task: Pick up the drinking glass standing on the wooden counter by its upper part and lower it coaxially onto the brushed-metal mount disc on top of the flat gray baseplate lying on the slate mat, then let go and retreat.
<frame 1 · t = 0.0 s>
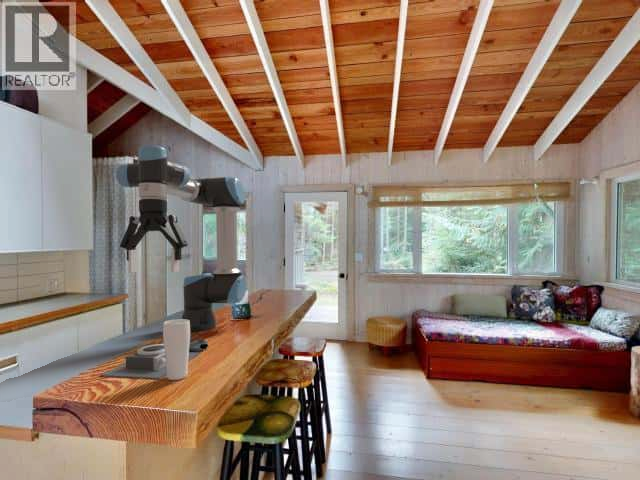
hand: (154, 272, 103), 28 cm above the countertop, fingers open, 13 cm apart
flat gray baseplate: (154, 364, 106), on the countertop
electronic device: (186, 350, 122), on the countertop
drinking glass: (177, 377, 95), on the countertop
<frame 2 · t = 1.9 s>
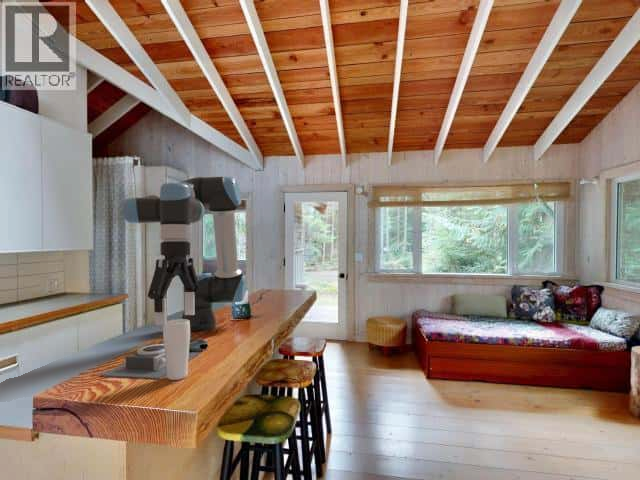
hand: (176, 319, 95), 16 cm above the countertop, fingers open, 13 cm apart
nothing on the countertop moved.
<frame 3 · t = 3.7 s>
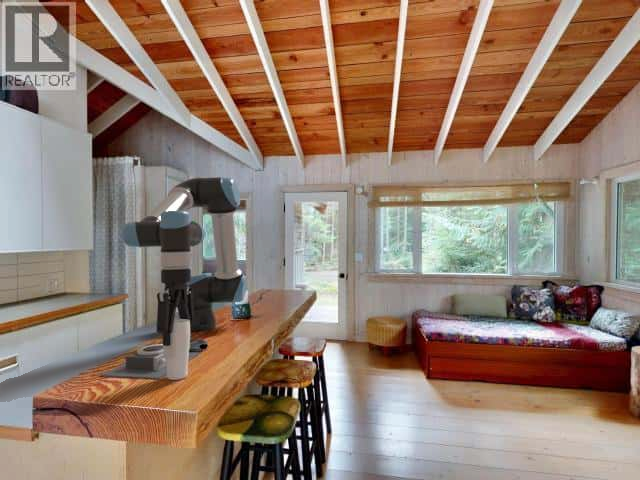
hand: (177, 352, 95), 7 cm above the countertop, fingers closed on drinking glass, 7 cm apart
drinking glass: (177, 377, 95), on the countertop, touching gripper
everything else where it was.
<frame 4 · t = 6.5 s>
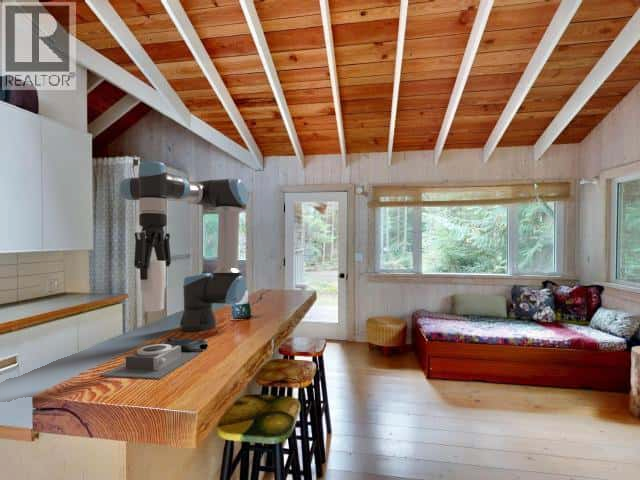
hand: (153, 289, 107), 23 cm above the countertop, fingers closed on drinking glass, 7 cm apart
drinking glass: (154, 311, 107), point 16 cm above the countertop, touching gripper
everything else where it was.
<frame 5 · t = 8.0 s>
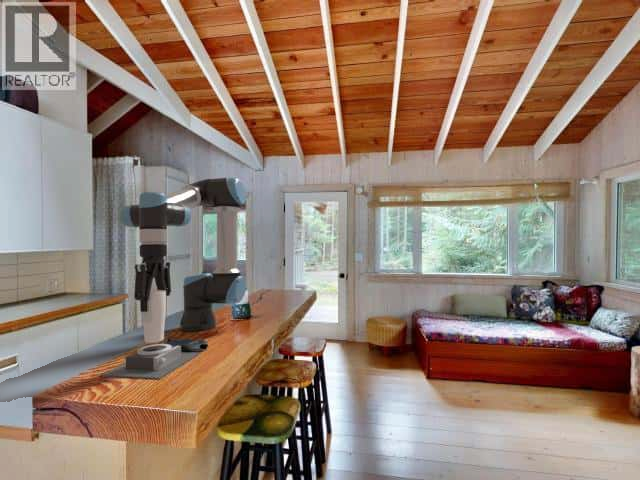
hand: (154, 319, 107), 13 cm above the countertop, fingers closed on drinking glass, 7 cm apart
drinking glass: (154, 342, 106), point 7 cm above the countertop, touching gripper
everything else where it was.
when the fingers open (12 cm above the countertop, at t = 9.1 s): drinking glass stays where it is, resting on flat gray baseplate.
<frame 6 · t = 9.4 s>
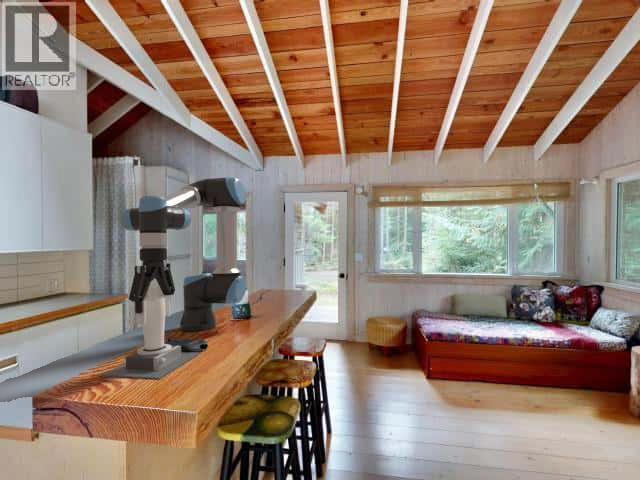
hand: (154, 319, 107), 13 cm above the countertop, fingers open, 11 cm apart
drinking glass: (154, 348, 107), point 5 cm above the countertop, touching flat gray baseplate
everything else where it was.
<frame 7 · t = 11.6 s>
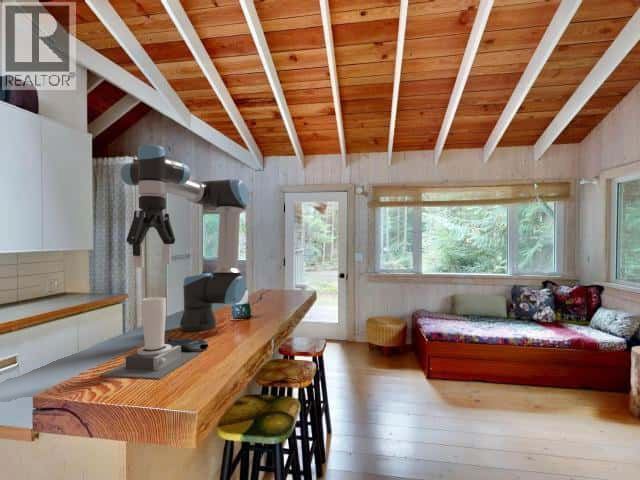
hand: (153, 265, 108), 30 cm above the countertop, fingers open, 13 cm apart
nothing on the countertop moved.
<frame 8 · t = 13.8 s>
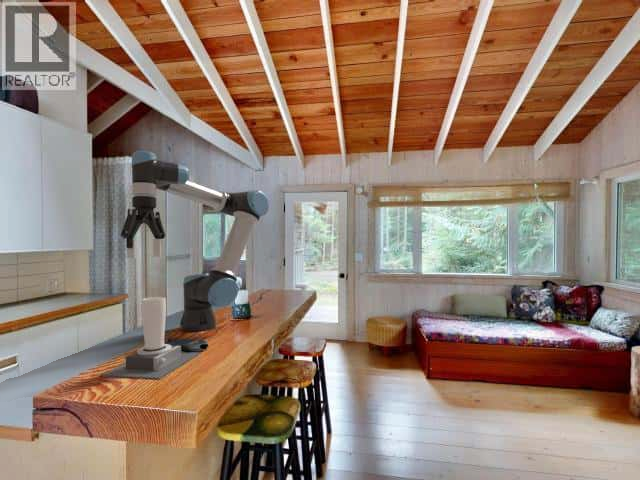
hand: (145, 257, 123), 32 cm above the countertop, fingers open, 13 cm apart
nothing on the countertop moved.
at the end: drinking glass inside the target area on the flat gray baseplate (0.0 cm from its centre), point 4.5 cm above the flat gray baseplate's base; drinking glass tilted 0°; the gripper is holding nothing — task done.
